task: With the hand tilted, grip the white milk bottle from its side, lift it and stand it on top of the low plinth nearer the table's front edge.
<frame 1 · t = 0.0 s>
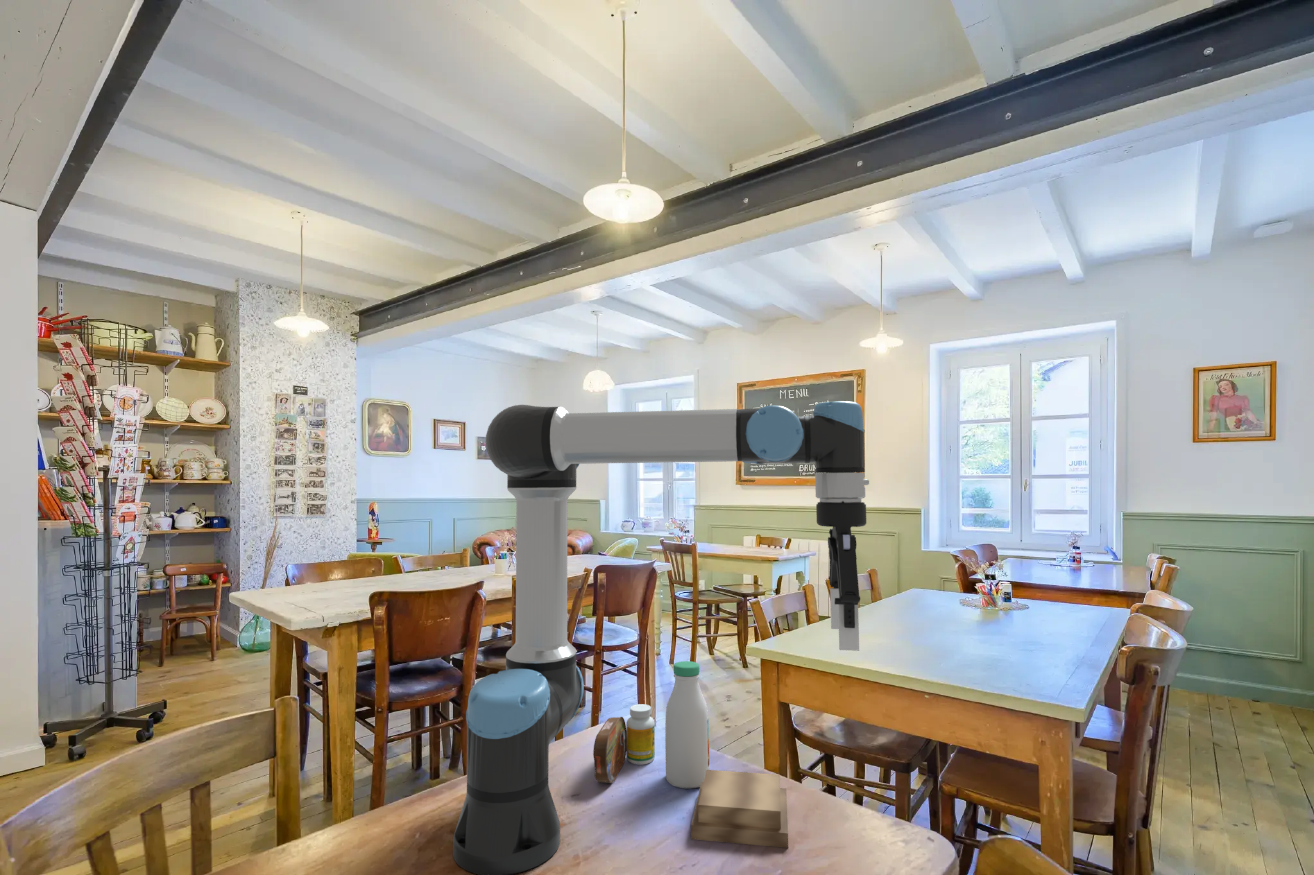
hand: (844, 638, 101), 28 cm above the table, tool pointing down, fingers open, 13 cm apart
milk bottle: (687, 781, 116), on the table
tin: (610, 773, 119), on the table
plinth: (741, 819, 102), on the table
supplement bottle: (640, 760, 124), on the table
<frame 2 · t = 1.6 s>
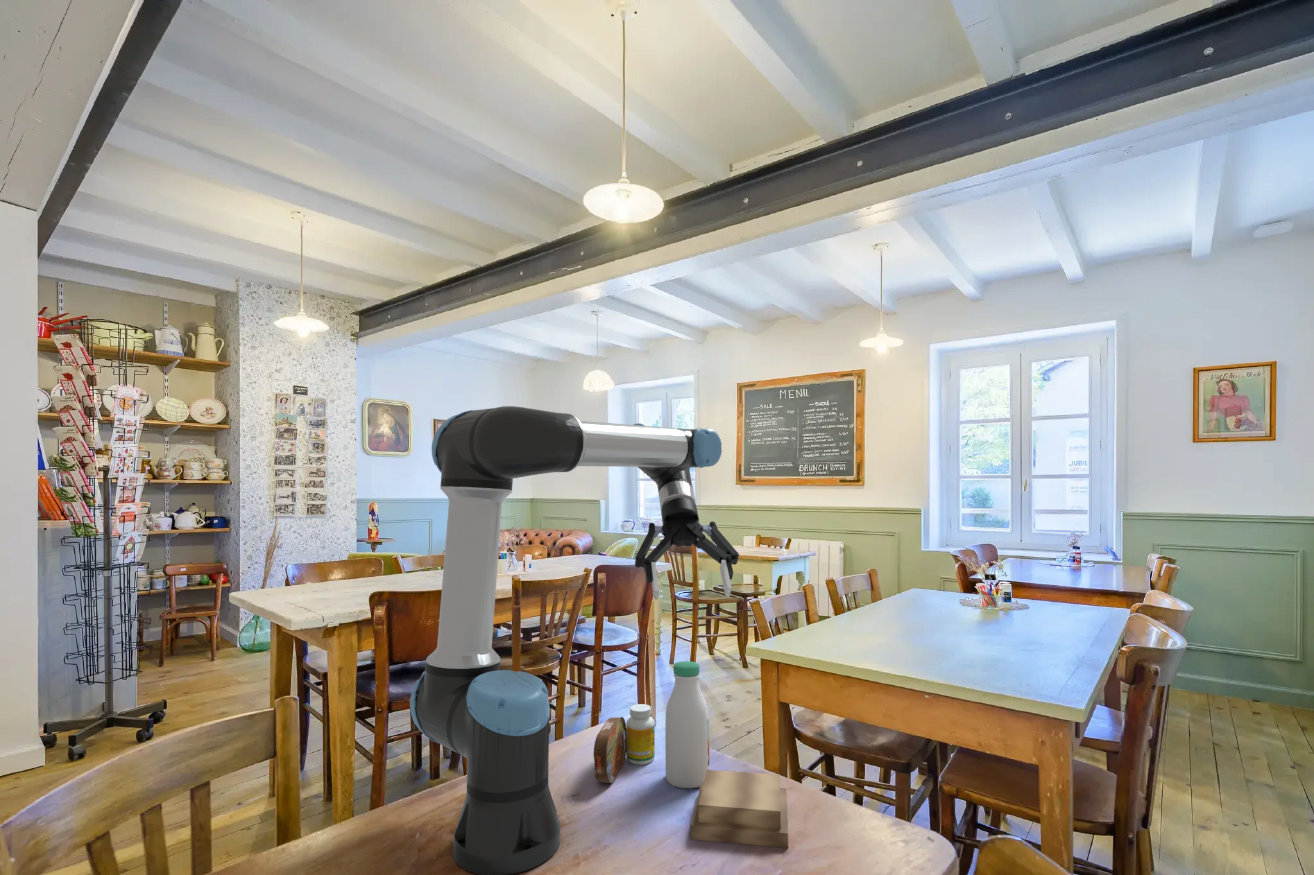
hand: (692, 594, 121), 32 cm above the table, tool tilted 45°, fingers open, 13 cm apart
nothing on the table moved.
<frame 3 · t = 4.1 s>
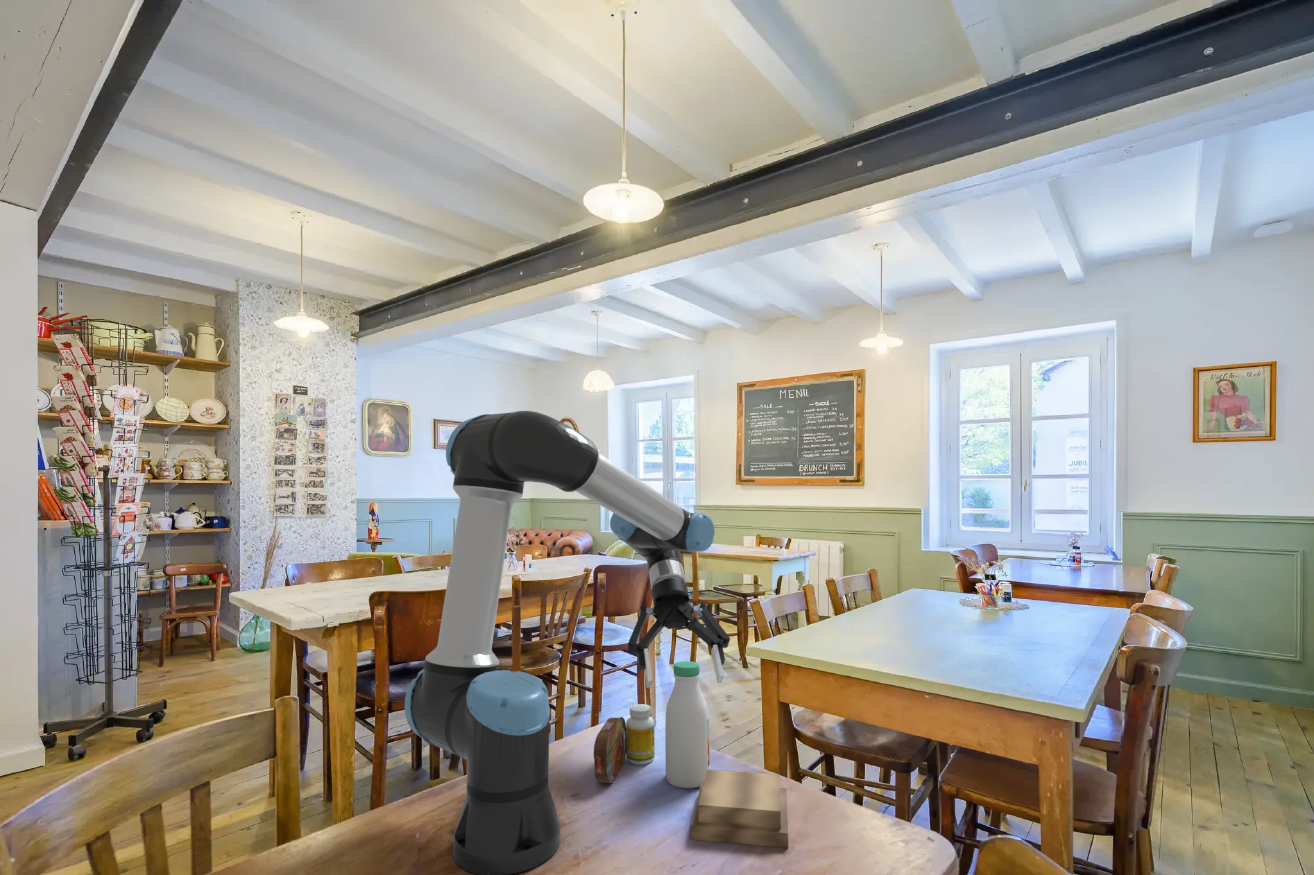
hand: (685, 682, 122), 15 cm above the table, tool tilted 45°, fingers open, 13 cm apart
nothing on the table moved.
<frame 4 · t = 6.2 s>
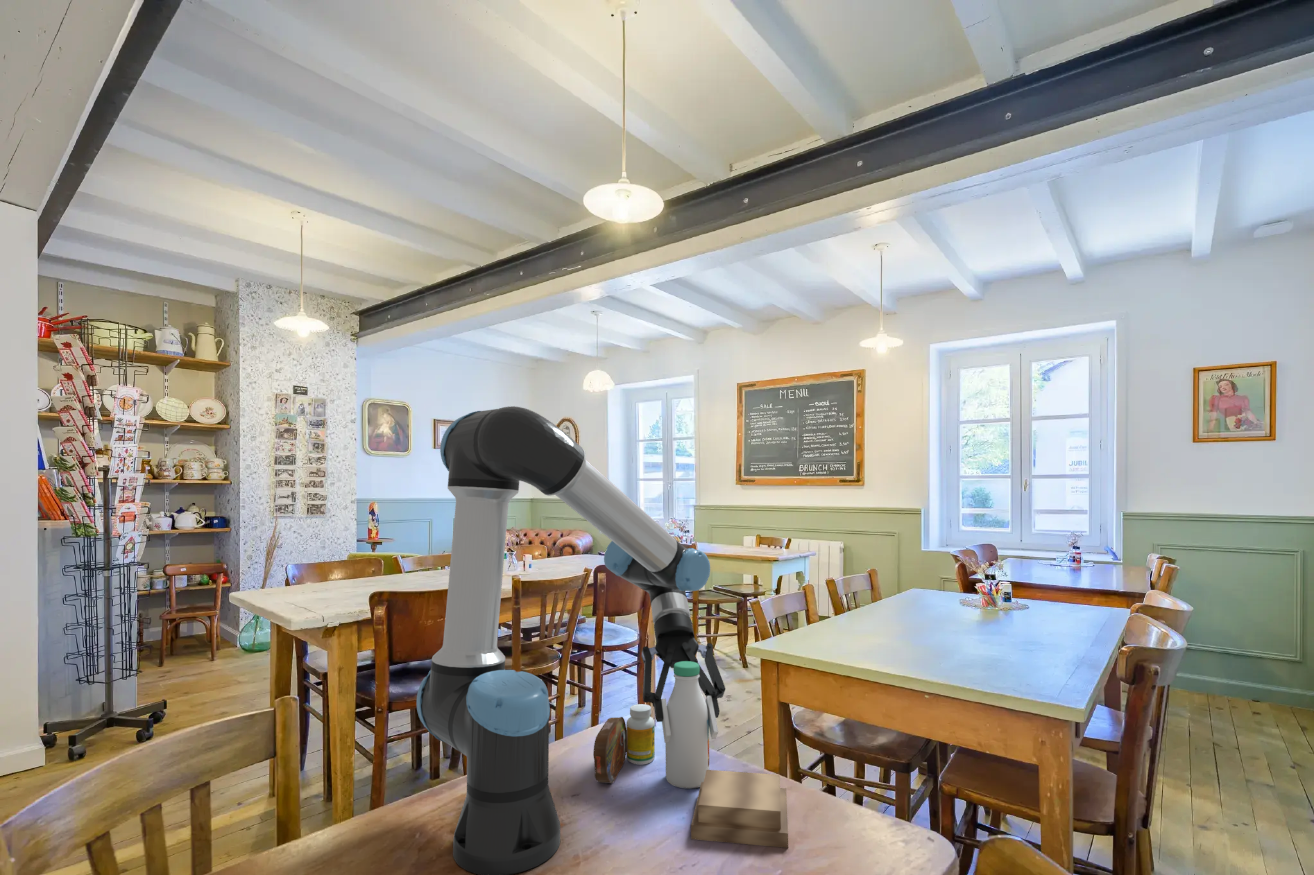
hand: (691, 737, 113), 9 cm above the table, tool tilted 45°, fingers closed on milk bottle, 8 cm apart
milk bottle: (687, 781, 116), on the table, touching gripper
everything else where it was.
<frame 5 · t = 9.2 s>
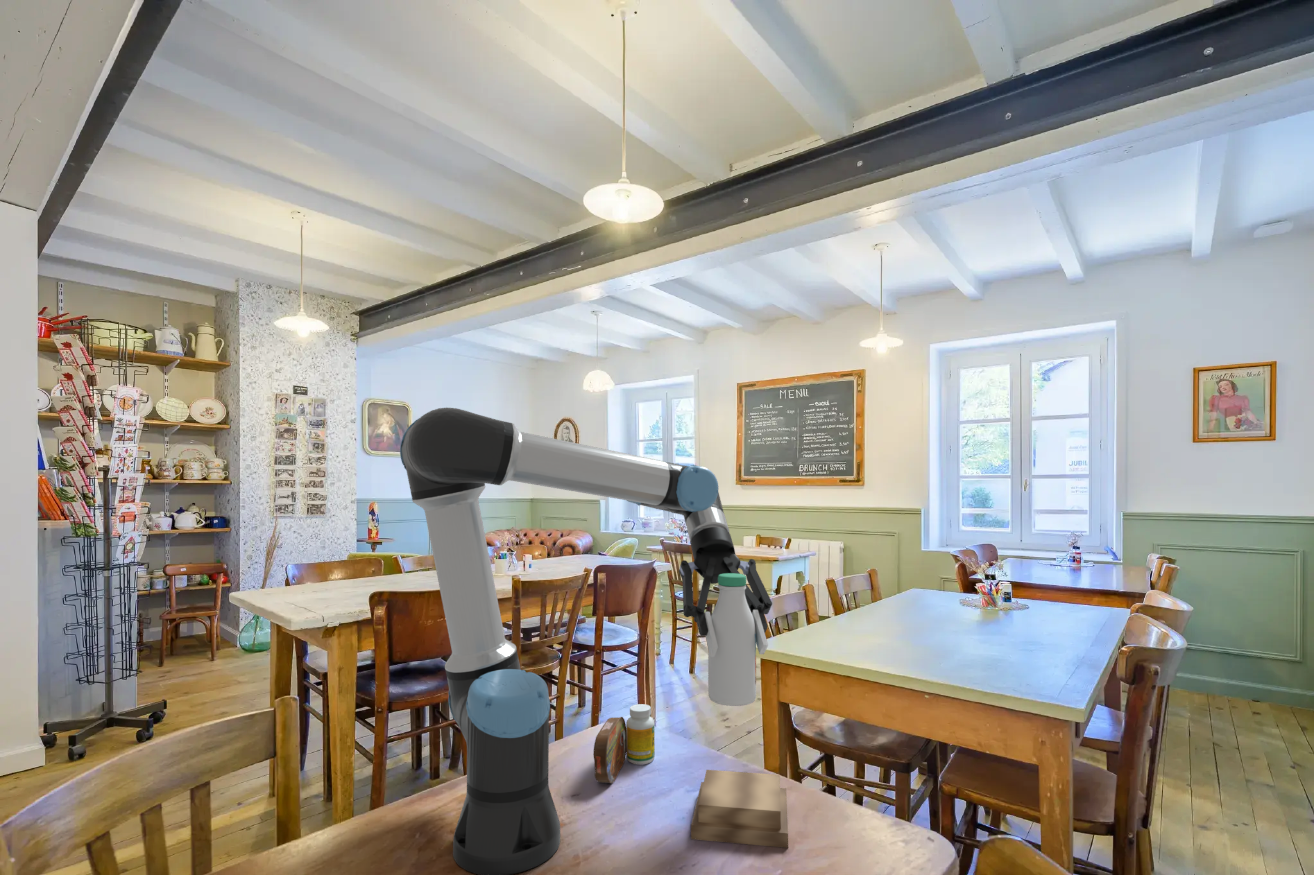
hand: (739, 650, 103), 26 cm above the table, tool tilted 45°, fingers closed on milk bottle, 7 cm apart
milk bottle: (732, 700, 106), point 17 cm above the table, touching gripper
everything else where it was.
when the fingers open (14 cm above the table, at t = 12.1 s): milk bottle drops 1 cm, resting on plinth.
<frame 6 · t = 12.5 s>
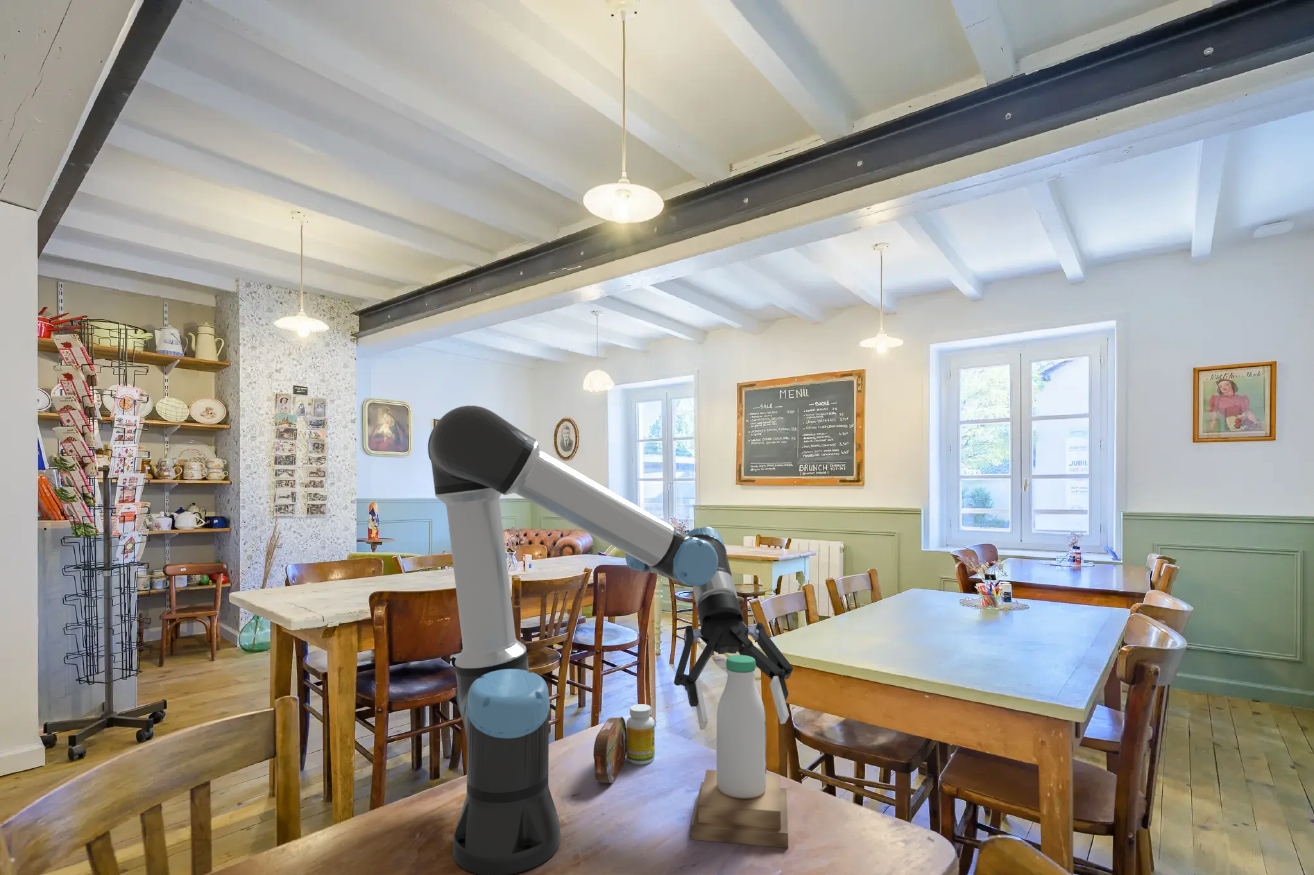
hand: (744, 722, 101), 15 cm above the table, tool tilted 45°, fingers open, 12 cm apart
milk bottle: (741, 789, 102), point 4 cm above the table, touching plinth
everything else where it was.
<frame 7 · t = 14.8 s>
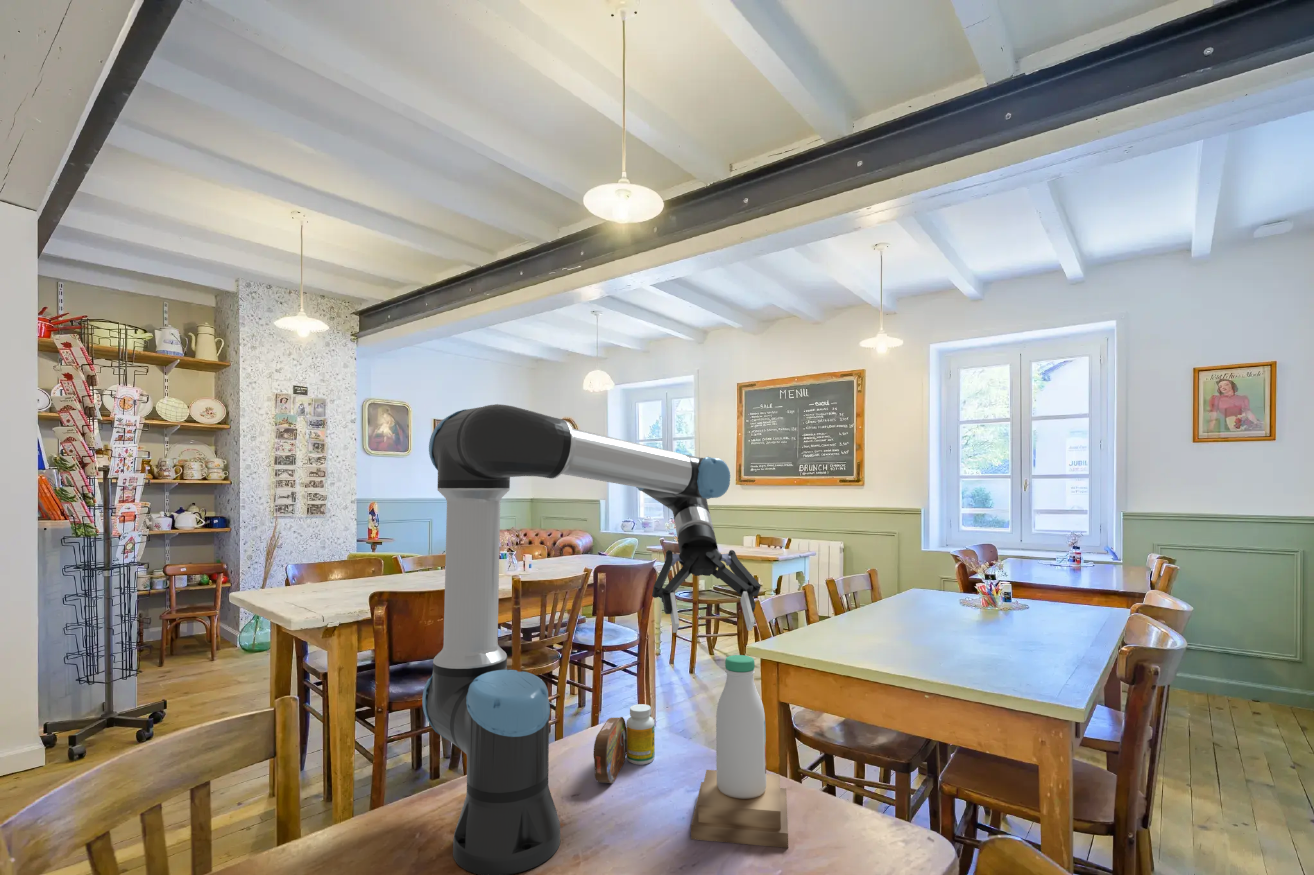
hand: (714, 627, 116), 27 cm above the table, tool tilted 45°, fingers open, 13 cm apart
nothing on the table moved.
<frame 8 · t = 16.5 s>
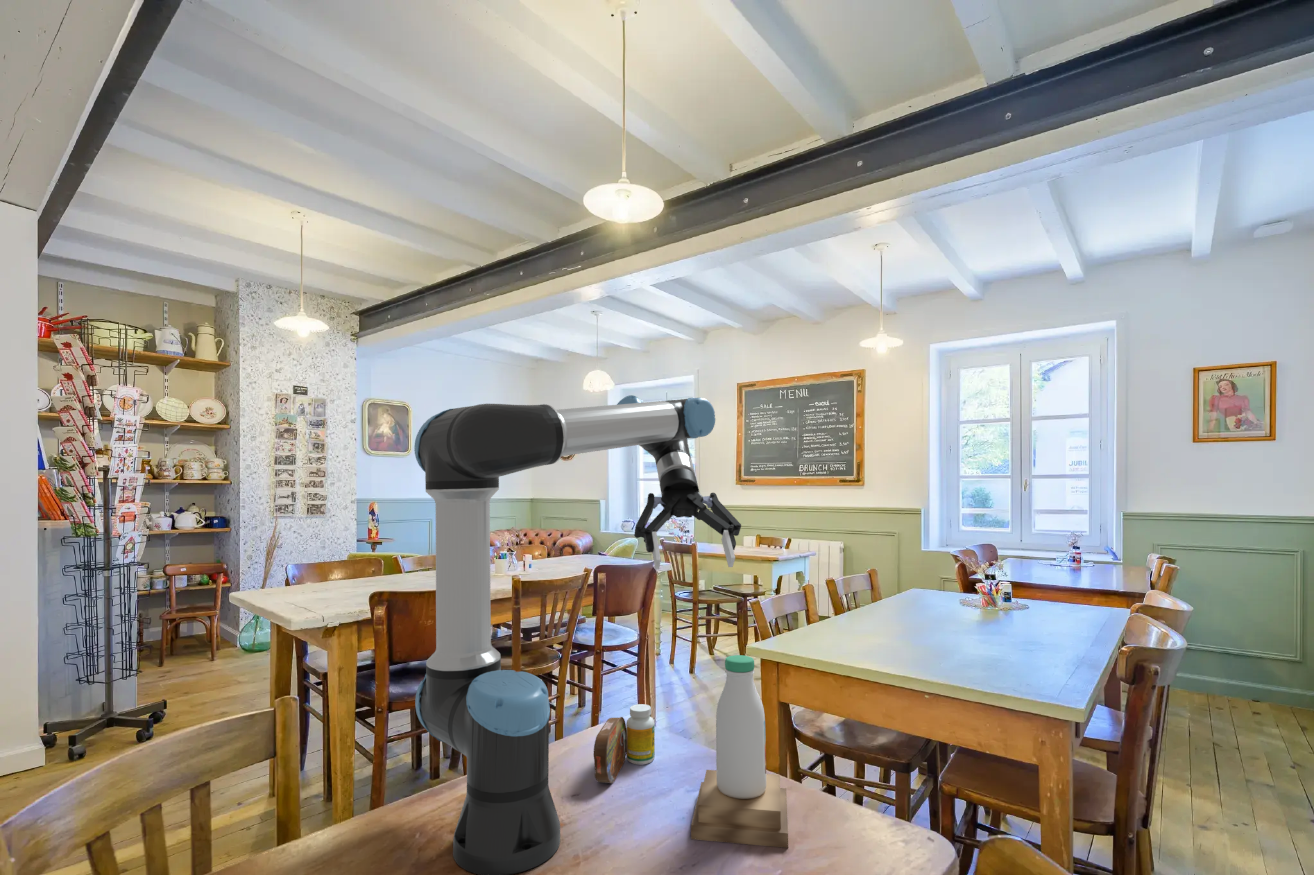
hand: (695, 563, 118), 38 cm above the table, tool tilted 45°, fingers open, 13 cm apart
nothing on the table moved.
at the end: milk bottle inside the target area on the plinth (0.1 cm from its centre), point 4.3 cm above the plinth's base; milk bottle tilted 0°; the gripper is holding nothing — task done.
